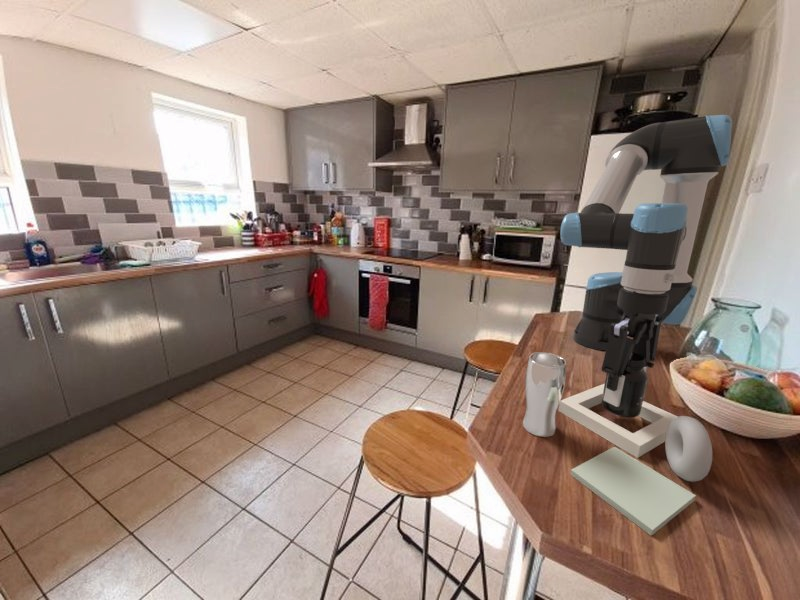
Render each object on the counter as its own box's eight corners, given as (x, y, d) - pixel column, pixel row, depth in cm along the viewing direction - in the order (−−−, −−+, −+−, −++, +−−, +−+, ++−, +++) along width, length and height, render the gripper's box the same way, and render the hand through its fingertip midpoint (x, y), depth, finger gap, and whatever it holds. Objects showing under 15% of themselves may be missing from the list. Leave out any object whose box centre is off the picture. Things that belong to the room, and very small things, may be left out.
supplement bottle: (646, 421, 64) (659, 365, 61) (608, 416, 66) (618, 362, 63) (630, 401, 71) (641, 350, 68) (596, 398, 72) (604, 347, 69)
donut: (707, 499, 50) (724, 443, 47) (679, 492, 51) (694, 437, 49) (680, 455, 59) (694, 406, 56) (657, 450, 60) (669, 402, 58)
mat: (613, 451, 60) (614, 446, 60) (694, 500, 50) (695, 495, 50) (570, 474, 55) (571, 469, 54) (651, 535, 44) (652, 530, 44)
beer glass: (512, 421, 68) (520, 355, 64) (538, 413, 71) (546, 349, 67) (538, 442, 62) (548, 370, 58) (565, 433, 65) (576, 363, 61)
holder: (602, 392, 79) (604, 383, 79) (682, 430, 66) (685, 420, 65) (558, 410, 72) (559, 400, 71) (637, 458, 58) (640, 446, 58)
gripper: (635, 301, 54) (611, 422, 60) (694, 287, 63) (668, 394, 69) (591, 291, 60) (574, 401, 66) (650, 280, 69) (630, 378, 75)
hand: (622, 397), depth 68 cm, fingers closed on supplement bottle, 7 cm apart
